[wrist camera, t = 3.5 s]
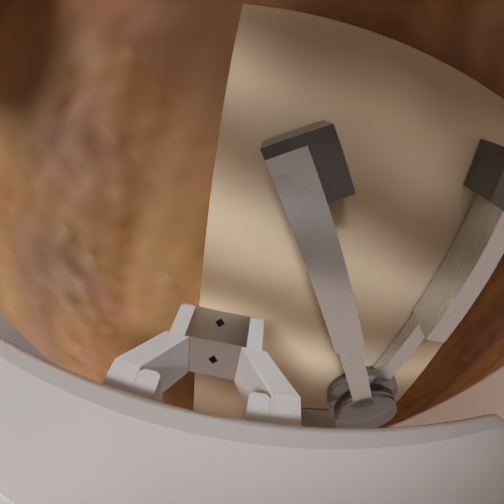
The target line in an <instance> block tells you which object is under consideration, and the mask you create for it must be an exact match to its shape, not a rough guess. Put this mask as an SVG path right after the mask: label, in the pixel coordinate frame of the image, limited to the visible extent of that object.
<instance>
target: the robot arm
mask: <svg viewBox="0 0 504 504" xmlns="http://www.w3.org/2000/svg"><path fill="white" fill-rule="evenodd" d="M264 323H265V320H264V318H257V317H249V316H244V315H238V314H233V313H227V312H222V311H218V310H213V309H209V308H205V307H200V306H195V305H191V304H187V303H183V304H182V305H181V306H180V309H179V311H178V313H177V316H176V318H175V320H174V322H173V325H172V327H171V329H170V332H168V331H165V332H163V333H161V334H159V335H157V336H156V337H154V338H152V339H150V340H148V341H146V342H145V343H143V344H141V345H139V346H137V347H135V348H134V349H132V350H130V351H128V352H126V353H124V354H122V355H121V356H119V357H117V358H115V360H114V362H113V364H112V366H111V368H110V369H109V371H108V373H107V375H106V377H105V379H104V381H103V383H99V382H96V381H94V380H91V379H88V378H86V377H83V376H81V375H78V374H76V373H74V372H71V371H69V370H67V369H64V368H62V367H60V366H57V365H55V364H53V363H51V362H49V361H46V360H44V359H42V358H40V357H38V356H36V355H34V354H32V353H30V352H28V351H26V350H24V349H22V348H20V347H19V346H17V345H15V344H13V343H11V342H9V341H8V340H6V339H4V338H2V337H1V336H0V504H504V419H502V418H501V417H500V416H498V415H496V414H488V415H483V416H479V417H474V418H468V419H463V420H457V421H451V422H445V423H436V424H428V425H418V426H406V427H391V428H318V427H302V426H301V397H300V396H299V395H298V393H297V392H296V391H295V389H294V388H293V387H292V385H291V384H290V383H289V381H288V380H287V379H286V377H285V376H284V375H283V373H282V372H281V370H280V369H279V368H278V366H277V365H276V364H275V362H274V361H273V360H272V358H271V357H270V355H269V354H268V353H267V351H263V337H264ZM188 371H190V372H196V373H201V374H206V375H211V376H216V377H220V378H225V379H230V380H234V382H235V384H236V387H237V389H238V391H239V393H240V395H241V397H242V399H243V401H244V403H245V405H246V406H245V409H244V412H243V415H242V418H241V419H235V418H229V417H223V416H218V415H213V414H208V413H203V412H198V411H194V410H189V409H185V408H181V407H177V406H173V405H169V404H165V403H163V397H162V393H163V392H164V391H166V390H167V389H168V388H169V387H171V386H172V385H173V384H174V383H175V382H177V381H178V380H179V379H180V378H182V377H183V376H184V375H185V374H186V373H188Z"/></svg>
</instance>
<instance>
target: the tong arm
mask: <svg viewBox="0 0 504 504" xmlns="http://www.w3.org/2000/svg"><path fill="white" fill-rule="evenodd" d="M260 150H261V153H262V155H263V158H264V160H265V162H266V165H267V167H268V170H269V172H270V175H271V177H272V180H273V182H274V185H275V187H276V190H277V192H278V195H279V197H280V200H281V202H282V205H283V207H284V210H285V212H286V215H287V218H288V220H289V223H290V225H291V228H292V231H293V233H294V236H295V239H296V241H297V244H298V247H299V249H300V252H301V255H302V258H303V260H304V263H305V266H306V269H307V271H308V274H309V277H310V280H311V282H312V285H313V288H314V291H315V294H316V297H317V300H318V302H319V305H320V308H321V311H322V314H323V317H324V320H325V323H326V326H327V329H328V332H329V335H330V338H331V341H332V344H333V347H334V350H335V353H339V355H340V358H341V362H342V365H343V368H344V372H345V375H346V378H347V382H348V385H349V389H350V392H349V393H347V394H345V395H344V396H342V397H341V398H339V399H338V400H337V402H336V403H335V405H334V416H335V425H336V427H337V428H377V427H379V426H382V425H384V424H385V423H387V422H388V421H390V420H391V419H392V418H393V417H394V416H395V414H396V412H397V407H396V403H395V399H394V395H393V392H392V391H391V390H390V389H389V388H387V387H384V386H370V384H369V379H368V374H367V369H366V364H365V359H364V354H363V350H362V346H364V345H365V343H364V339H363V334H362V329H361V325H360V320H359V316H358V312H357V307H356V303H355V299H354V295H353V291H352V287H351V283H350V279H349V275H348V272H347V268H346V264H345V261H344V257H343V253H342V250H341V246H340V243H339V239H338V236H337V233H336V229H335V226H334V223H333V219H332V216H331V213H330V210H329V207H328V203H330V202H333V201H336V200H340V199H343V198H346V197H349V196H352V195H355V194H356V193H355V189H354V185H353V182H352V179H351V175H350V172H349V169H348V165H347V162H346V159H345V156H344V153H343V150H342V147H341V144H340V141H339V138H338V135H337V132H336V129H335V126H334V124H333V123H330V122H328V121H325V120H322V121H319V122H316V123H313V124H310V125H307V126H304V127H301V128H298V129H295V130H292V131H289V132H286V133H283V134H280V135H277V136H275V137H272V138H269V139H267V140H264V141H263V142H262V145H261V147H260Z"/></svg>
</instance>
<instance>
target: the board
mask: <svg viewBox="0 0 504 504" xmlns="http://www.w3.org/2000/svg"><path fill="white" fill-rule="evenodd" d="M322 120H325V121H328V122H330V123H333V124H334V126H335V129H336V132H337V135H338V138H339V141H340V144H341V147H342V150H343V153H344V156H345V159H346V162H347V165H348V169H349V172H350V175H351V179H352V182H353V185H354V189H355V193H356V194H355V195H352V196H349V197H346V198H343V199H340V200H336V201H333V202H330V203H328V207H329V210H330V213H331V216H332V219H333V223H334V226H335V229H336V233H337V236H338V239H339V243H340V246H341V250H342V253H343V257H344V261H345V264H346V268H347V272H348V275H349V279H350V283H351V287H352V291H353V295H354V299H355V303H356V307H357V312H358V316H359V320H360V325H361V329H362V334H363V339H364V343H365V345H364V346H362V350H363V354H364V359H365V364H366V366H374V365H375V363H376V362H377V361H378V360H379V359H380V357H381V356H382V355H383V353H384V352H385V351H386V350H387V348H388V347H389V346H390V344H391V343H392V342H393V340H394V339H395V338H396V336H397V335H398V334H399V332H400V331H401V330H402V328H403V327H404V325H405V324H406V323H407V321H408V320H409V318H410V317H411V315H412V314H413V311H412V310H413V309H414V307H415V306H416V304H417V303H418V301H419V300H420V298H421V297H422V295H423V294H424V292H425V290H426V289H427V287H428V286H429V284H430V282H431V281H432V279H433V277H434V276H435V274H436V272H437V271H438V269H439V267H440V265H441V264H442V262H443V260H444V258H445V257H446V255H447V253H448V251H449V249H450V247H451V246H452V244H453V242H454V240H455V238H456V236H457V234H458V232H459V230H460V228H461V226H462V224H463V222H464V220H465V218H466V216H467V214H468V212H469V209H470V207H471V205H472V203H473V200H474V198H475V196H476V194H477V193H476V192H474V191H472V190H471V189H469V188H468V187H466V186H464V185H463V184H464V182H465V179H466V177H467V175H468V172H469V169H470V167H471V164H472V162H473V159H474V156H475V153H476V151H477V148H478V145H479V142H480V139H484V140H487V141H490V142H493V143H495V144H498V145H501V146H504V99H503V98H501V97H500V96H498V95H497V94H495V93H494V92H492V91H491V90H489V89H488V88H486V87H485V86H483V85H482V84H480V83H479V82H477V81H475V80H474V79H472V78H470V77H469V76H467V75H465V74H464V73H462V72H460V71H458V70H457V69H455V68H453V67H451V66H449V65H448V64H446V63H444V62H442V61H440V60H438V59H436V58H434V57H432V56H430V55H428V54H426V53H424V52H421V51H419V50H417V49H415V48H412V47H410V46H408V45H406V44H403V43H401V42H398V41H396V40H393V39H391V38H388V37H386V36H383V35H380V34H377V33H375V32H372V31H369V30H366V29H363V28H360V27H357V26H353V25H350V24H347V23H343V22H340V21H336V20H332V19H328V18H324V17H320V16H316V15H312V14H307V13H302V12H297V11H292V10H286V9H280V8H274V7H267V6H259V5H251V4H243V5H242V9H241V14H240V19H239V24H238V28H237V33H236V38H235V44H234V49H233V54H232V59H231V65H230V70H229V76H228V81H227V87H226V93H225V99H224V105H223V111H222V117H221V124H220V130H219V137H218V144H217V151H216V158H215V165H214V172H213V180H212V188H211V196H210V204H209V212H208V221H207V230H206V239H205V249H204V259H203V269H202V280H201V292H200V304H199V306H200V307H205V308H209V309H213V310H218V311H222V312H227V313H233V314H238V315H244V316H249V317H257V318H264V320H265V323H264V337H263V351H267V353H268V354H269V355H270V357H271V358H272V360H273V361H274V362H275V364H276V365H277V366H278V368H279V369H280V370H281V372H282V373H283V375H284V376H285V377H286V379H287V380H288V381H289V383H290V384H291V385H292V387H293V388H294V389H295V391H296V392H297V393H298V395H299V396H300V397H301V426H302V427H318V428H337V427H336V425H335V416H334V414H333V413H332V412H330V411H329V409H328V406H327V396H326V391H327V388H328V386H329V384H330V383H331V382H332V381H333V380H334V379H335V378H337V377H338V376H340V375H341V374H343V373H345V372H344V368H343V365H342V362H341V358H340V355H339V353H335V350H334V347H333V344H332V341H331V338H330V335H329V332H328V329H327V326H326V323H325V320H324V317H323V314H322V311H321V308H320V305H319V302H318V300H317V297H316V294H315V291H314V288H313V285H312V282H311V280H310V277H309V274H308V271H307V269H306V266H305V263H304V260H303V258H302V255H301V252H300V249H299V247H298V244H297V241H296V239H295V236H294V233H293V231H292V228H291V225H290V223H289V220H288V218H287V215H286V212H285V210H284V207H283V205H282V202H281V200H280V197H279V195H278V192H277V190H276V187H275V185H274V182H273V180H272V177H271V175H270V172H269V170H268V167H267V165H266V162H265V160H264V158H263V155H262V153H261V150H260V147H261V145H262V142H263V141H264V140H267V139H269V138H272V137H275V136H277V135H280V134H283V133H286V132H289V131H292V130H295V129H298V128H301V127H304V126H307V125H310V124H313V123H316V122H319V121H322ZM442 344H443V342H438V341H433V340H427V339H425V338H424V339H423V341H422V342H421V343H420V345H419V346H418V347H417V348H416V350H415V351H414V352H413V353H412V354H411V356H410V357H409V358H408V359H407V360H406V362H405V363H404V364H403V365H402V366H401V367H400V369H399V370H398V371H397V372H396V373H395V374H394V376H395V379H396V383H397V386H398V393H397V395H396V397H395V403H396V402H397V401H398V400H399V399H400V398H401V397H402V396H403V394H404V393H405V392H406V391H407V390H408V389H409V387H410V386H411V385H412V384H413V383H414V381H415V380H416V379H417V378H418V376H419V375H420V374H421V373H422V371H423V370H424V369H425V367H426V366H427V365H428V364H429V362H430V361H431V360H432V358H433V357H434V355H435V354H436V353H437V351H438V350H439V349H440V347H441V346H442ZM245 406H246V405H245V403H244V401H243V399H242V397H241V395H240V393H239V391H238V389H237V387H236V384H235V382H234V380H230V379H225V378H220V377H216V376H211V375H206V374H201V373H196V372H195V383H194V408H193V410H194V411H198V412H203V413H208V414H213V415H218V416H223V417H229V418H235V419H241V418H242V415H243V412H244V409H245Z"/></svg>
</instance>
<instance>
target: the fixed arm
mask: <svg viewBox="0 0 504 504" xmlns="http://www.w3.org/2000/svg"><path fill="white" fill-rule="evenodd" d="M463 185H464V186H466V187H468V188H469V189H471V190H472V191H474V192H476V193H477V194H476V196H475V198H474V200H473V203H472V205H471V207H470V209H469V212H468V214H467V216H466V218H465V220H464V222H463V224H462V226H461V228H460V230H459V232H458V234H457V236H456V238H455V240H454V242H453V244H452V246H451V247H450V249H449V251H448V253H447V255H446V257H445V258H444V260H443V262H442V264H441V265H440V267H439V269H438V271H437V272H436V274H435V276H434V277H433V279H432V281H431V282H430V284H429V286H428V287H427V289H426V290H425V292H424V294H423V295H422V297H421V298H420V300H419V301H418V303H417V304H416V306H415V307H414V309H413V310H412V311H413V314H412V315H411V317H410V318H409V320H408V321H407V323H406V324H405V325H404V327H403V328H402V330H401V331H400V332H399V334H398V335H397V336H396V338H395V339H394V340H393V342H392V343H391V344H390V346H389V347H388V348H387V350H386V351H385V352H384V353H383V355H382V356H381V357H380V359H379V360H378V361H377V362H376V363H375V365H374V366H366V369H367V374H368V379H369V384H370V386H384V387H387V388H389V389H390V390H391V391H392V392H393V395H394V399H395V397H396V395H397V393H398V386H397V383H396V379H395V376H394V374H395V373H396V372H397V371H398V370H399V369H400V367H401V366H402V365H403V364H404V363H405V362H406V360H407V359H408V358H409V357H410V356H411V354H412V353H413V352H414V351H415V350H416V348H417V347H418V346H419V345H420V343H421V342H422V341H423V339H424V338H425V339H427V340H433V341H438V342H443V343H444V342H445V341H446V340H447V339H448V337H449V336H450V335H451V333H452V332H453V331H454V330H455V328H456V327H457V326H458V324H459V323H460V321H461V320H462V319H463V317H464V316H465V315H466V313H467V312H468V310H469V309H470V307H471V306H472V304H473V303H474V301H475V300H476V298H477V297H478V295H479V294H480V292H481V291H482V289H483V288H484V286H485V284H486V283H487V281H488V280H489V278H490V276H491V275H492V273H493V271H494V270H495V268H496V266H497V264H498V263H499V261H500V259H501V257H502V255H503V253H504V146H501V145H498V144H495V143H493V142H490V141H487V140H484V139H480V142H479V145H478V148H477V151H476V153H475V156H474V159H473V162H472V164H471V167H470V169H469V172H468V175H467V177H466V179H465V182H464V184H463ZM349 392H350V389H349V385H348V382H347V378H346V375H345V373H343V374H341V375H340V376H338V377H337V378H335V379H334V380H333V381H332V382H331V383H330V384H329V386H328V388H327V391H326V396H327V406H328V409H329V411H330V412H332V413H333V414H334V405H335V403H336V402H337V400H338V399H339V398H341V397H342V396H344V395H345V394H347V393H349Z"/></svg>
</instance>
